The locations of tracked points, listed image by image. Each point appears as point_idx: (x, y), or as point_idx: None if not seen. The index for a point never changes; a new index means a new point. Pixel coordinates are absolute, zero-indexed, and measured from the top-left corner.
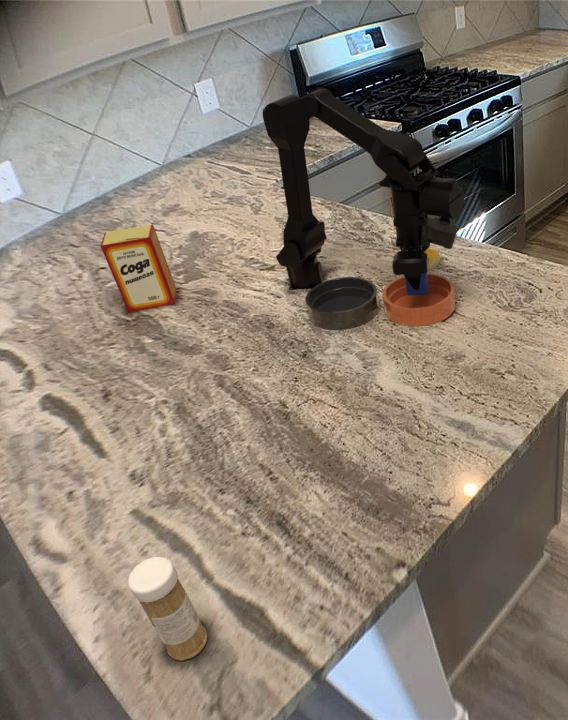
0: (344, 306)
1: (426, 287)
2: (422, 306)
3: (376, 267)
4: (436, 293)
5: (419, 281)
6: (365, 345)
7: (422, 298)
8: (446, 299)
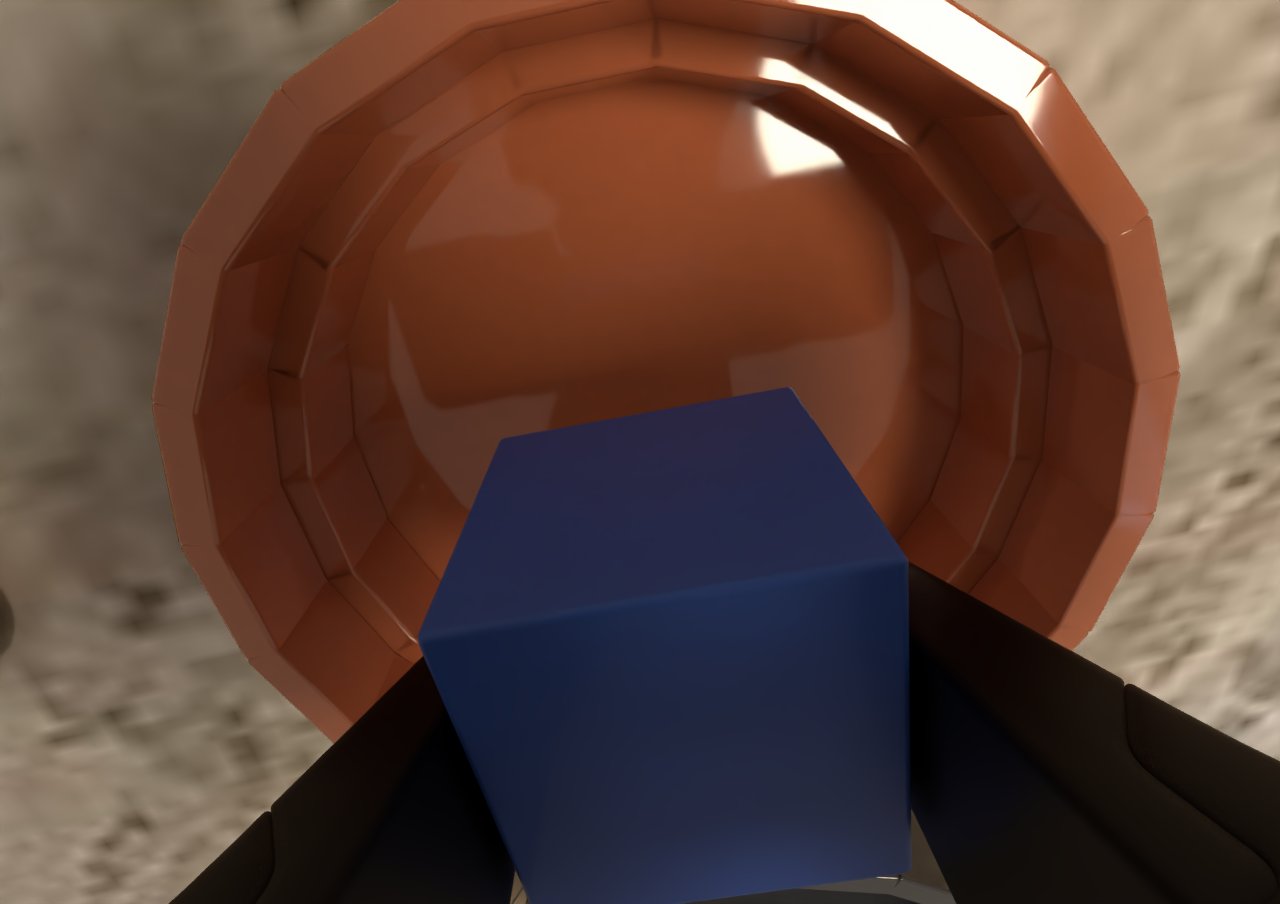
0: (690, 902)
1: (826, 439)
2: (642, 406)
3: (87, 866)
4: (353, 322)
5: (1005, 623)
6: (1168, 673)
7: (491, 442)
8: (963, 11)
